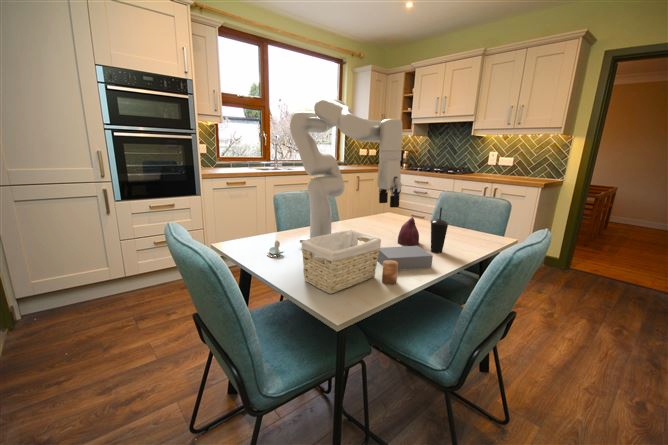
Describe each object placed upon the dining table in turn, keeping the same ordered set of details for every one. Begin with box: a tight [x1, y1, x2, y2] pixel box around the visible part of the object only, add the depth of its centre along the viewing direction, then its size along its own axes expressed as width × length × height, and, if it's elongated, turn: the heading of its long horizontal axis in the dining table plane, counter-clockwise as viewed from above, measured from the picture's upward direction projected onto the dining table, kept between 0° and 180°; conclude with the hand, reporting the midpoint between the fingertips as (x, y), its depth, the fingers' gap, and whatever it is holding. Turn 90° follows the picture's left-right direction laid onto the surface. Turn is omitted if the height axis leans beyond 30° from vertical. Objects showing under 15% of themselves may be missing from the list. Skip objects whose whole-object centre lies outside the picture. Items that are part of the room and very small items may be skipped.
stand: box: [377, 245, 433, 271], centre depth 122 cm, size 18×12×5 cm, turn 102°
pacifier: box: [266, 240, 285, 258], centre depth 128 cm, size 7×6×6 cm
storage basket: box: [301, 229, 382, 295], centre depth 105 cm, size 24×16×15 cm
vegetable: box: [397, 216, 420, 246], centre depth 146 cm, size 10×10×15 cm
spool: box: [381, 260, 399, 286], centre depth 105 cm, size 5×5×7 cm
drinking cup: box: [430, 207, 450, 254], centre depth 135 cm, size 8×8×20 cm
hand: (388, 205), depth 111 cm, fingers open, 9 cm apart
